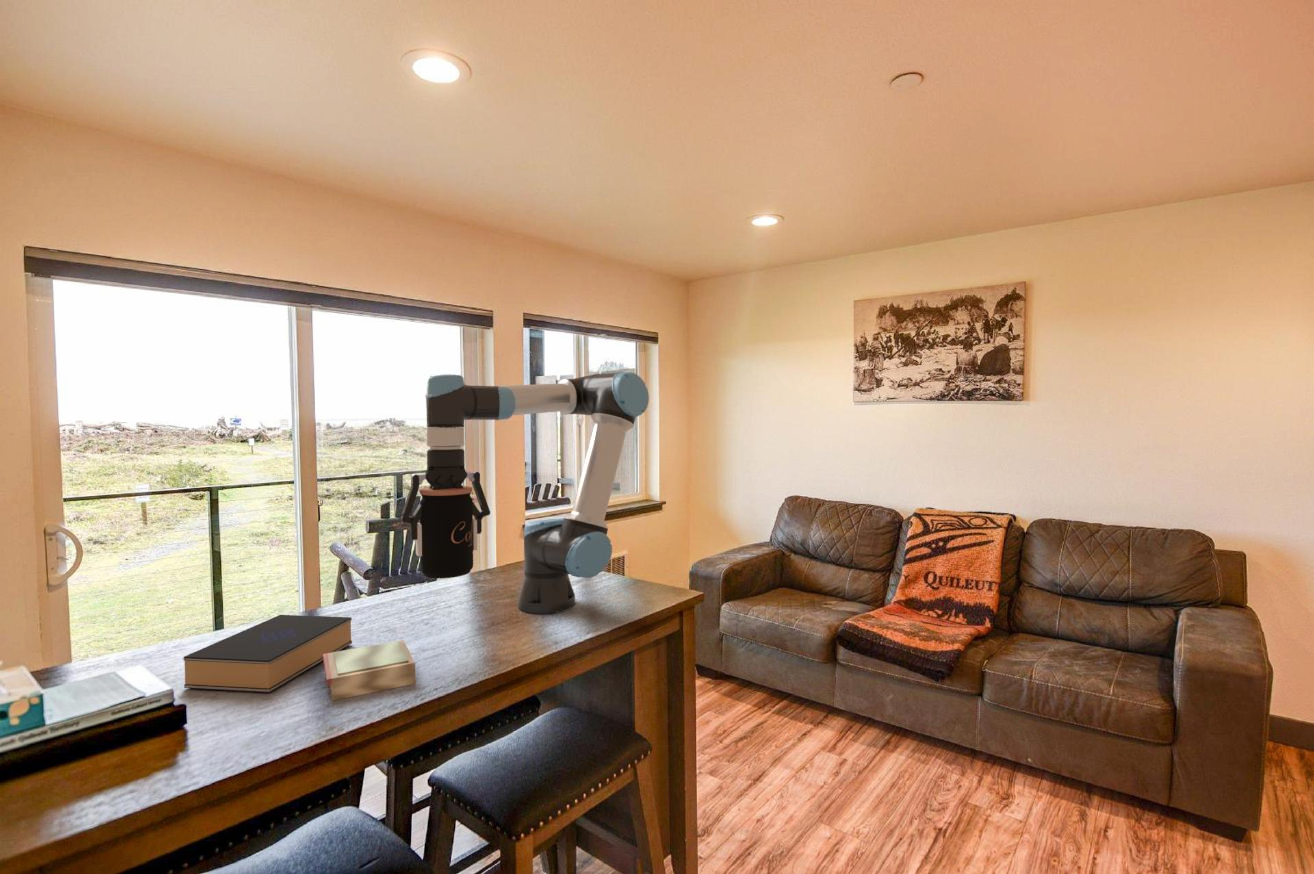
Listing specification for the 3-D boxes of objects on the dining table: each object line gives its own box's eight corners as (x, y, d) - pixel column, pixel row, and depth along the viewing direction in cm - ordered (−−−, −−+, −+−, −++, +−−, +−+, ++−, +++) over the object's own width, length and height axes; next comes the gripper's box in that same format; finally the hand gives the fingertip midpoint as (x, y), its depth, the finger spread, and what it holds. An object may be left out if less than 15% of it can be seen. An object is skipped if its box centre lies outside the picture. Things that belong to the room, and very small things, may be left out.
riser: (403, 659, 130) (403, 638, 130) (415, 683, 118) (415, 661, 118) (323, 674, 123) (322, 652, 122) (327, 701, 110) (326, 677, 110)
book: (183, 692, 116) (182, 656, 115) (280, 643, 140) (279, 614, 140) (269, 696, 114) (268, 660, 113) (352, 646, 138) (351, 617, 138)
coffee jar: (457, 580, 126) (456, 491, 125) (409, 577, 128) (408, 490, 127) (482, 568, 136) (481, 486, 136) (438, 565, 138) (437, 485, 138)
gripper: (495, 446, 140) (495, 543, 141) (384, 448, 129) (385, 554, 129) (504, 447, 134) (505, 549, 135) (389, 450, 122) (390, 561, 123)
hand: (447, 552), depth 132 cm, fingers closed on coffee jar, 11 cm apart
